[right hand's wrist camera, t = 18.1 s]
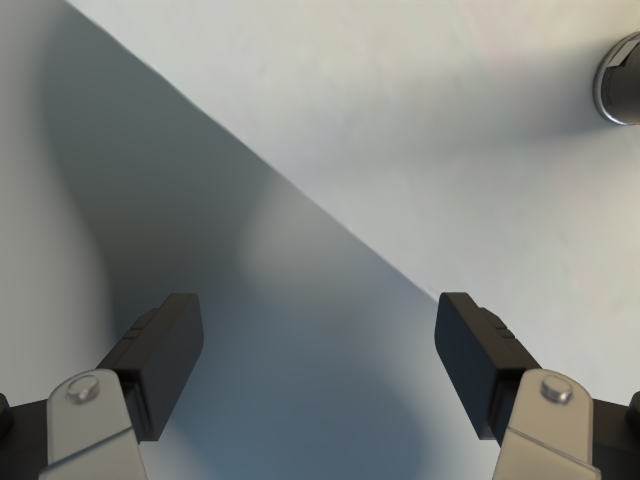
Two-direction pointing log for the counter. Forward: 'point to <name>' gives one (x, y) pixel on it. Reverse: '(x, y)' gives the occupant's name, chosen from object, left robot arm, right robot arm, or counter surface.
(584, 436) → the right robot arm
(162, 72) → the counter surface
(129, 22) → the counter surface
